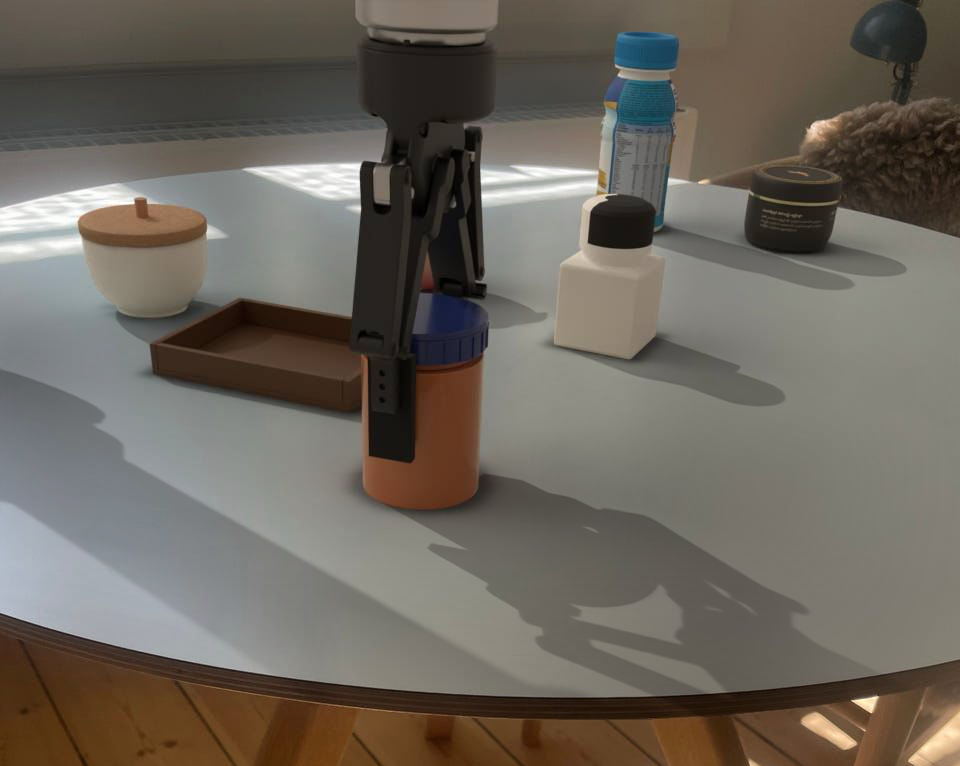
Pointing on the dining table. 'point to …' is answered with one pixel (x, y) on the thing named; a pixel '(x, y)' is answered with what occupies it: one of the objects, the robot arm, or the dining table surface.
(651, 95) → the beverage bottle
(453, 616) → the dining table surface
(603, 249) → the medicine bottle
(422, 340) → the lid
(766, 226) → the jar
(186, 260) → the trinket box
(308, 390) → the tray
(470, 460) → the honey jar
